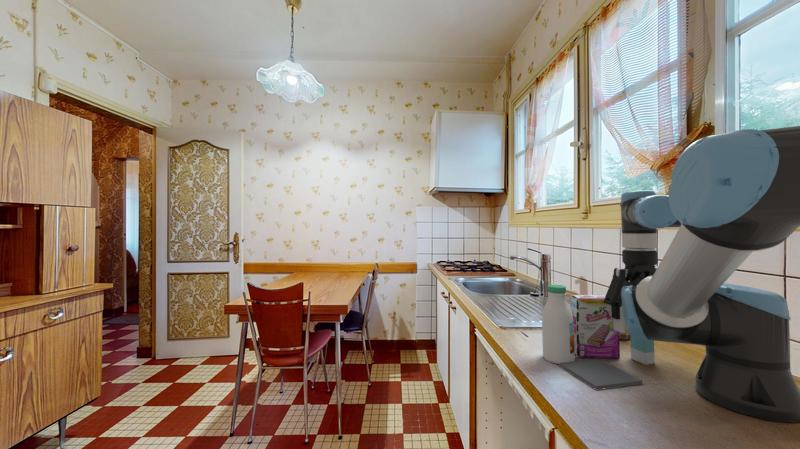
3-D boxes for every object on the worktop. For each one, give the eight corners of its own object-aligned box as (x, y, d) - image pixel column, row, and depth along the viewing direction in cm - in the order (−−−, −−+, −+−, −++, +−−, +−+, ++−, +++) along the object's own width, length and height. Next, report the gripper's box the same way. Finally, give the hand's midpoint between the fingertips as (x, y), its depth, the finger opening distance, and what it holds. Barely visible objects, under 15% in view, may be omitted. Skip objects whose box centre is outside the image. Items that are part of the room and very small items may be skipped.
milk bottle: (564, 368, 80) (562, 289, 80) (537, 358, 87) (535, 285, 87) (580, 360, 84) (578, 286, 85) (552, 351, 91) (551, 282, 91)
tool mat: (642, 383, 72) (642, 380, 72) (596, 389, 69) (596, 386, 70) (600, 361, 83) (600, 358, 83) (559, 366, 81) (559, 363, 81)
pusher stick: (654, 363, 82) (653, 309, 82) (644, 364, 81) (643, 310, 81) (640, 357, 86) (638, 305, 86) (630, 358, 85) (629, 306, 85)
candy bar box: (578, 358, 86) (576, 298, 86) (570, 351, 91) (568, 294, 91) (621, 359, 85) (620, 298, 85) (611, 351, 90) (609, 294, 90)
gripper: (664, 246, 89) (666, 320, 89) (587, 250, 85) (589, 328, 85) (693, 248, 82) (695, 329, 82) (610, 252, 78) (612, 338, 78)
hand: (641, 329), depth 84 cm, fingers open, 13 cm apart
